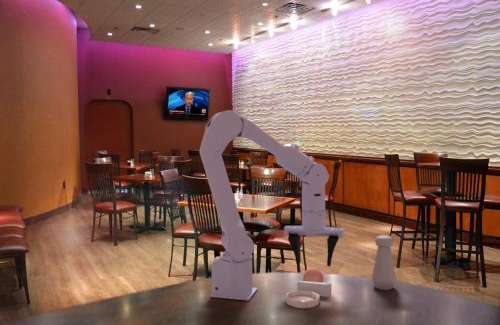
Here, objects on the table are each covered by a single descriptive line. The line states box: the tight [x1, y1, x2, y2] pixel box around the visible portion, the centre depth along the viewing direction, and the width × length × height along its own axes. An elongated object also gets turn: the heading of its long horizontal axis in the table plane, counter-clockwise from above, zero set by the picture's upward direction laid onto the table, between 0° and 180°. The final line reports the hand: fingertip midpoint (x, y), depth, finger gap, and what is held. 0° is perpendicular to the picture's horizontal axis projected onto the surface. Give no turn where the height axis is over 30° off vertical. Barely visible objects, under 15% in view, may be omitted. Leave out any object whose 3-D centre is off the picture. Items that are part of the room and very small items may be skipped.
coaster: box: [284, 289, 321, 309], centre depth 107 cm, size 8×8×1 cm
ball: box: [302, 267, 324, 283], centre depth 116 cm, size 5×5×5 cm
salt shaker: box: [371, 234, 397, 291], centre depth 116 cm, size 6×6×13 cm
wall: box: [296, 280, 332, 298], centre depth 111 cm, size 8×1×3 cm, turn 74°
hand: (313, 264), depth 116 cm, fingers open, 7 cm apart
